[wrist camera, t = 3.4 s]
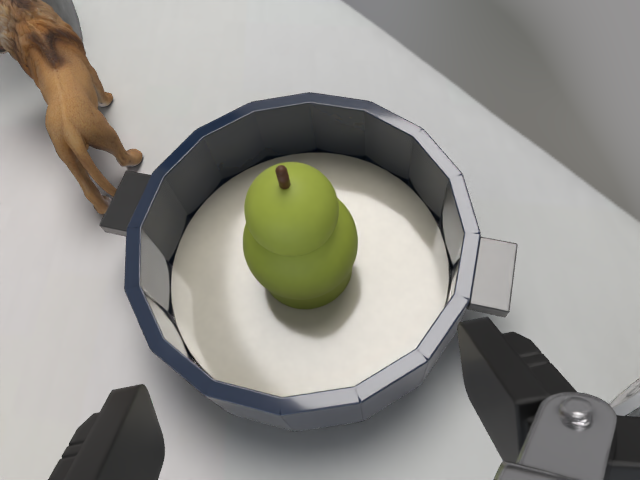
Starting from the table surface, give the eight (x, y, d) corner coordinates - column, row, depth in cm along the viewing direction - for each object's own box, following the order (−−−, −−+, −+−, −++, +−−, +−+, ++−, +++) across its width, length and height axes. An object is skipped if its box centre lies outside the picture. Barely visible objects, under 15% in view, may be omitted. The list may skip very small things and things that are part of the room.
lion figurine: (27, 99, 40) (-60, -6, 32) (92, 63, 41) (24, -47, 33) (112, 240, 34) (31, 155, 26) (186, 194, 35) (130, 99, 27)
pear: (241, 303, 31) (187, 216, 22) (273, 212, 33) (235, 100, 24) (345, 327, 30) (332, 246, 21) (370, 231, 32) (368, 121, 23)
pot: (82, 373, 30) (31, 349, 26) (194, 123, 38) (170, 71, 33) (471, 480, 26) (491, 472, 22) (512, 176, 34) (533, 124, 29)
